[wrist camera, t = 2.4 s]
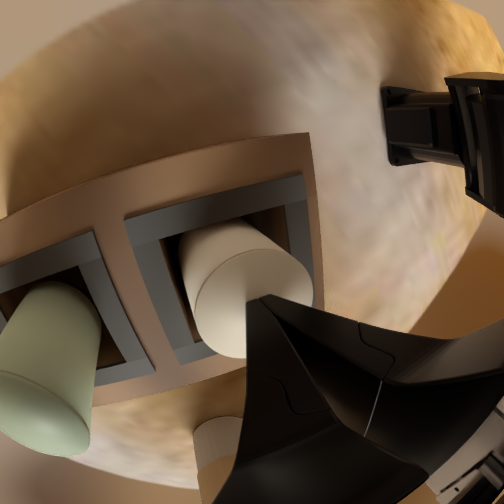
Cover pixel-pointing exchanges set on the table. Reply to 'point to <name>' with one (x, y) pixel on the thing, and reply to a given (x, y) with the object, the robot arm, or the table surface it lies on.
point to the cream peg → (235, 279)
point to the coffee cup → (215, 453)
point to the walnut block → (160, 251)
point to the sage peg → (49, 369)
